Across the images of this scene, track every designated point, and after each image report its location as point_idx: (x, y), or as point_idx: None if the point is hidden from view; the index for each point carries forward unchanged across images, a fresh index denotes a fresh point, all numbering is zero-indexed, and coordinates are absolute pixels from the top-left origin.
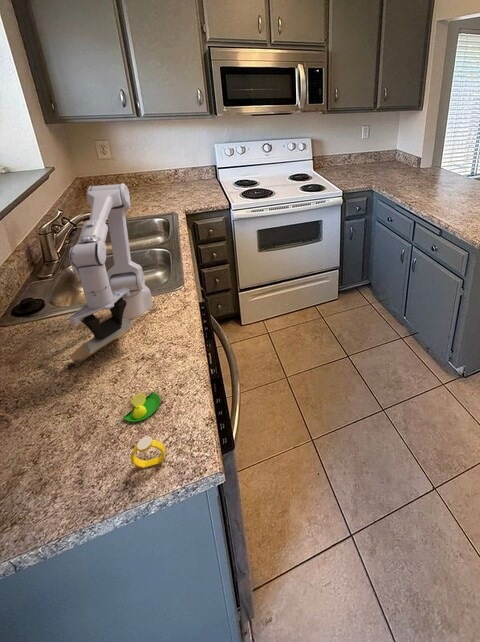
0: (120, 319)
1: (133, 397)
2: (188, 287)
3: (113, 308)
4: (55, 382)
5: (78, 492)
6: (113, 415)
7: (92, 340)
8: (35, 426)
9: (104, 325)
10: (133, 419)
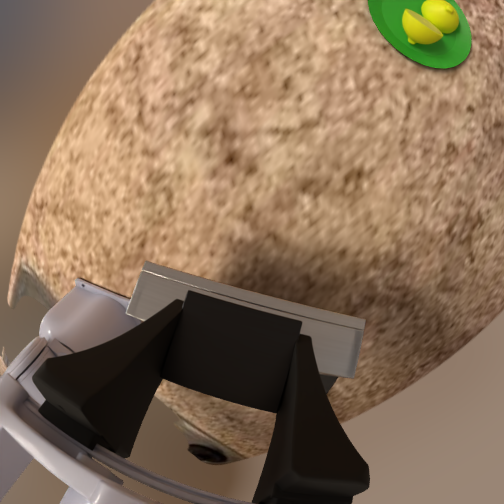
0: (155, 326)
1: (436, 33)
2: (17, 249)
3: (127, 412)
4: (374, 342)
5: None
6: (464, 93)
7: (318, 361)
8: (493, 280)
9: (238, 378)
10: (457, 27)
